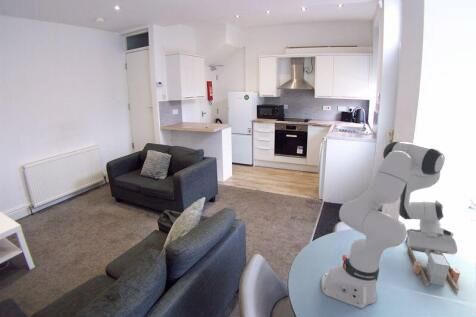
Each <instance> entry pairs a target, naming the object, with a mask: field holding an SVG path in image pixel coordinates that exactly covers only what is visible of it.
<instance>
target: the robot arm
mask: <svg viewBox="0 0 476 317" xmlns="http://www.w3.org/2000/svg"><path fill="white" fill-rule="evenodd" d="M382 157H383V160H382V161H381V164H379V167H378V169H377V171H376V173H375V175H374V177H373V179H372V181H371V183H370V185H369V186H368V188H367V189H366V190H365V192H363V194H361V195H360V196H358V197H357V198H354V199H351V200H347V201H346V202H344V203H343V204H342V205H341V206H340V209H339V211H338V214H339V215H338V217H339V219H340V221H341V222H343V223H344V224H345V225H346V226H347V227H349V228H350V229H353V230H354V231H357V232H358V233H360V234H362V235H364V236H365V238H360V239H356V240H354V241H353V242H352V243H351V246H350V251H349V252H350V253H349V257H348V256H347V255H346V254H343V255H342V256H341V257H342V259H341V260H342V261H343V262H342V263H341V264H338V265H335V266H334V265H333V266H332V267H331V268H330V269H329V271H328V272H325V273H324V274H323V275H322V277H321V281H320V285H321V286H320V287H321V291H322V292H323V294H324V295H325V296H327V297H330V298H333V299H336V300H338V301H340V302H343V303H346V304H348V305H350V306H354V307H357V308H359V309H363V308H365V307H366V306H368V305H373V304H374V303H375V302H376V301H377V299H378V292H377V281H378V278H379V273H380V267H379V265H380V261H381V257H382V254H383V253H384V251H385V250H387V249H389V248H396V247H398V246H400V245H401V244H402V243H403V242H405V241H406V238H407V236H408V239H407V242H406V245H407V246H409V247H413V248H418V249H424V250H425V252H424V253H425V254H426V256H427V259H428V258H429V252H430V251H434V253H439V252H441V253H443V254H447V255H455V254H457V253H458V245H457V241H456V240H455V238H454V232H452V231H451V230H447V229H445V228H442V226H441V222H440V220H441V219H443V218H444V214H443V208H444V206H443V204H441V202H440V201H438V200H435V199H433V198H422V199H411V194H412V193H413V192H415V191H419V190H424V189H428V188H431V187H432V186H435V184H437V183H438V182H439V180H440V177H441V171H442V168H443V166H444V165H445V160H446V159H445V154H443V152H442V151H441V150H439V149H436V148H433V147H431V146H427V145H420V144H417V143H411V142H402V141H398V140H397V141H391V142H389V143H388V144H386V146H385V147H384V149H383V154H382ZM396 202H399V203H398V205H397V212H398V214H399V216H400V217H401V218H403V219H404V220H419V229H418V228H409V229H407V228H406V226H405V224H404V222H402V221H400V220H399V219H397V218H396V217H394V216H392V215H391V214H388V213H385V212H383V211H380V210H379V208H380V207H381V206H383V205H390V204H395V203H396Z"/></svg>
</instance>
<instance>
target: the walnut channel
mask: <svg viewBox="0 0 476 317" xmlns="http://www.w3.org/2000/svg"><path fill="white" fill-rule="evenodd" d="M407 246H408V245H407ZM413 251H414V250H412V249H411V247H409V246H408V247H407V254H408V256H409V258H410V262H411V264H412V267H413V266H414V261H417V259H416V257H415V254H414V252H413ZM439 253H440V254H441V255H443V256H444V258H445V259H446V261H447V263H448V264H449V270H448V271H449V273H450V274H451V270H452V268H453V267H452V266H451V265H450V263H449V262H448V260H447V258H446V257H445V255H444V253H441V252H439Z"/></svg>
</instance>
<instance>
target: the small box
mask: <svg viewBox="0 0 476 317" xmlns="http://www.w3.org/2000/svg"><path fill="white" fill-rule="evenodd" d="M443 255H444V254H443ZM443 255H437V254H432V253H429V258H428V257H427V263H426V270H425V271H424V273H425V275H426V278H427V280H428V282H429V284H430V283H431V284H435V285H439V286H440V285H441V286H444V287H445V284H446V281H447V274H448V270H449V265H450V263H449V262H448V260H447V258H446V257H445V255H444V256H443ZM444 257H445V258H446V259H445V258H444ZM446 260H447V261H446ZM447 262H448V263H449V264H448V263H447Z"/></svg>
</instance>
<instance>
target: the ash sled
mask: <svg viewBox="0 0 476 317" xmlns="http://www.w3.org/2000/svg"><path fill="white" fill-rule="evenodd" d="M430 253H432V254H437V255H441V254H440V253H434V252H430ZM426 266H427V265H426ZM426 266H425V265H421V269H420V273H419V275H420V277H421V280H422V282H423V284H424V286H425V287H428V286H429V284H430V281H429V279H428V277H427V274H426V272H425V270H426ZM446 280H448V283H449V284H450V286H451V288H452V289H453V292H454V293H457V294H458V293H459V287H458V285H457V284H456V283H457V282H455V281H454V280H453V278H452V276H451V274H450V273H449V271H448V274H447V277H446Z"/></svg>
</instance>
